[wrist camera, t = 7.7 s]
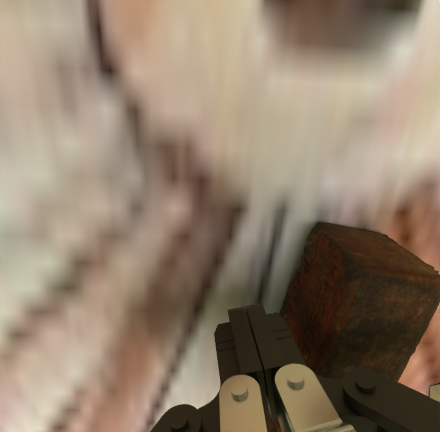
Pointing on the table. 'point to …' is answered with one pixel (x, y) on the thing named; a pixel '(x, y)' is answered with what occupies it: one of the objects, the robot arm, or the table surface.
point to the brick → (358, 303)
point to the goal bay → (435, 392)
